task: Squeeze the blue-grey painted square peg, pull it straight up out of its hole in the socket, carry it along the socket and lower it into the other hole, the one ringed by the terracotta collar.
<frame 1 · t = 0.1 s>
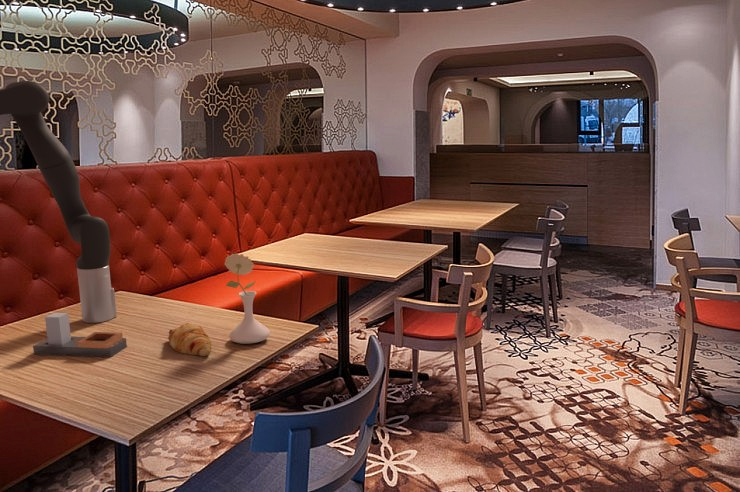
socket: (81, 350, 161), on the table
croissant: (189, 349, 161), on the table
peg: (60, 350, 161), resting in socket
flower in vase: (247, 340, 167), on the table
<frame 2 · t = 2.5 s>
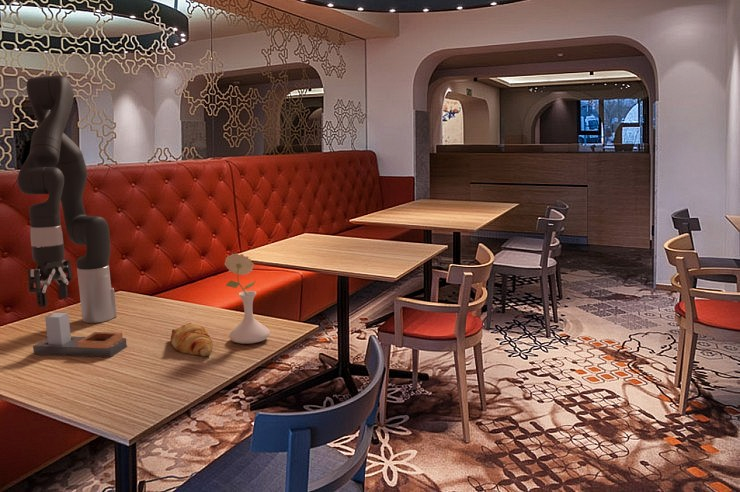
hand: (53, 302, 159), 14 cm above the table, fingers open, 8 cm apart
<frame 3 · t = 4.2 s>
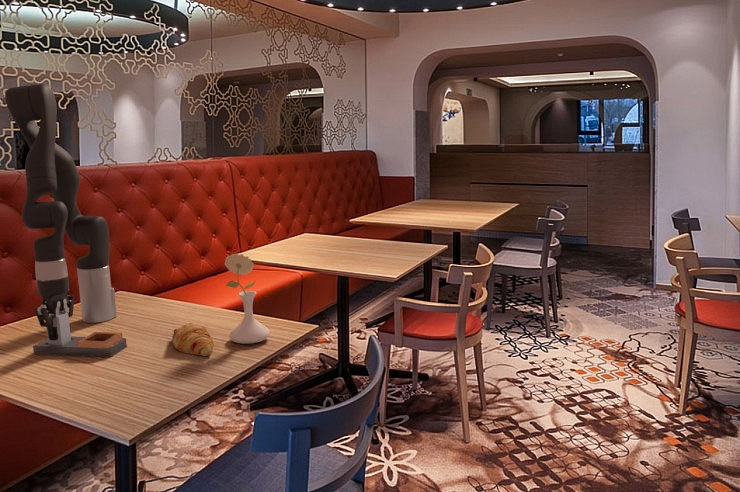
hand: (59, 336, 161), 4 cm above the table, fingers closed on peg, 4 cm apart
peg: (60, 350, 161), resting in socket, touching gripper
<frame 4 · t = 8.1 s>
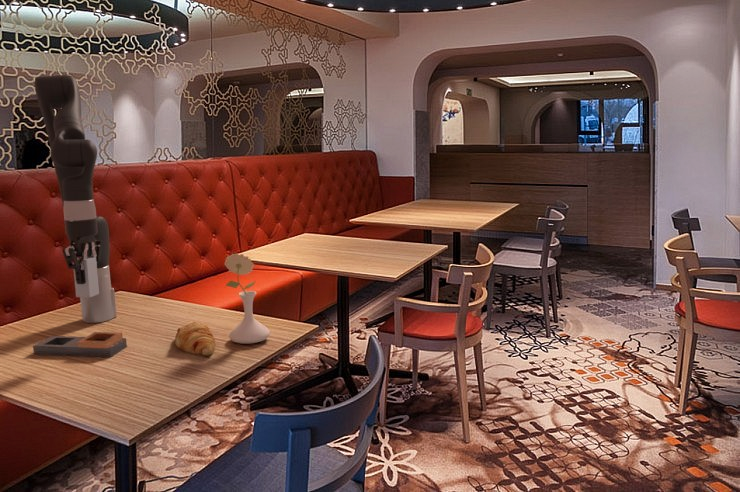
hand: (86, 281, 156), 20 cm above the table, fingers closed on peg, 4 cm apart
peg: (87, 295, 157), point 16 cm above the table, touching gripper
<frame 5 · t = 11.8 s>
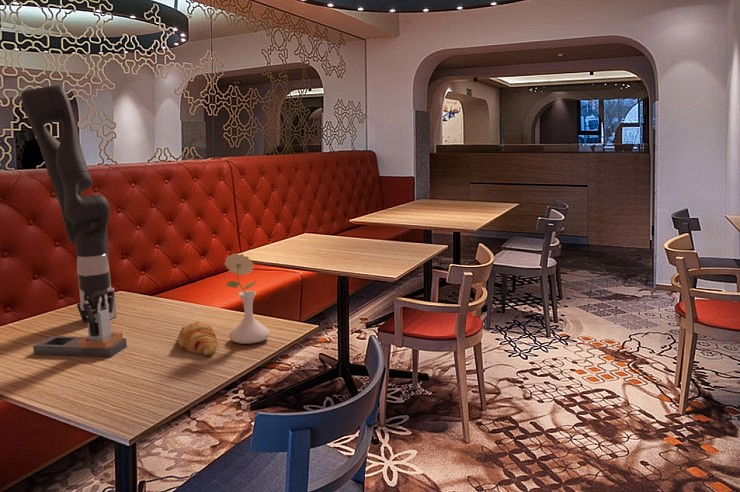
hand: (99, 332, 159), 5 cm above the table, fingers closed on peg, 3 cm apart
peg: (101, 346, 160), point 1 cm above the table, touching gripper
when the fingers open (5 cm above the table, at t = 12.0 s): peg drops 1 cm, resting in socket.
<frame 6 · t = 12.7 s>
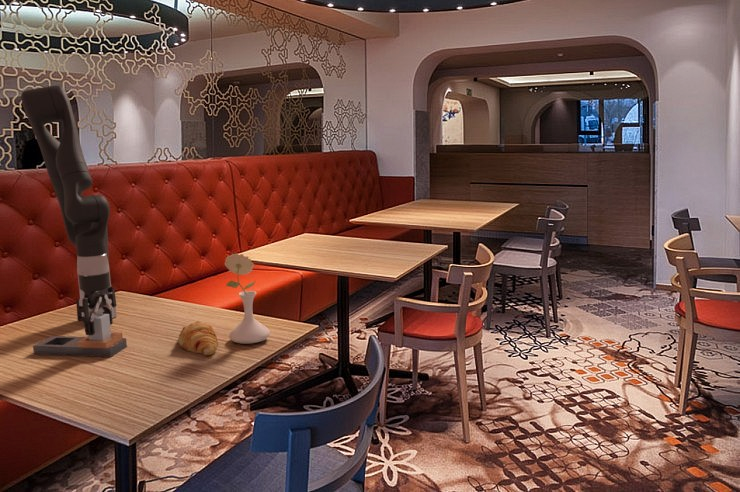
hand: (99, 329, 159), 6 cm above the table, fingers open, 8 cm apart
peg: (101, 351, 160), resting in socket
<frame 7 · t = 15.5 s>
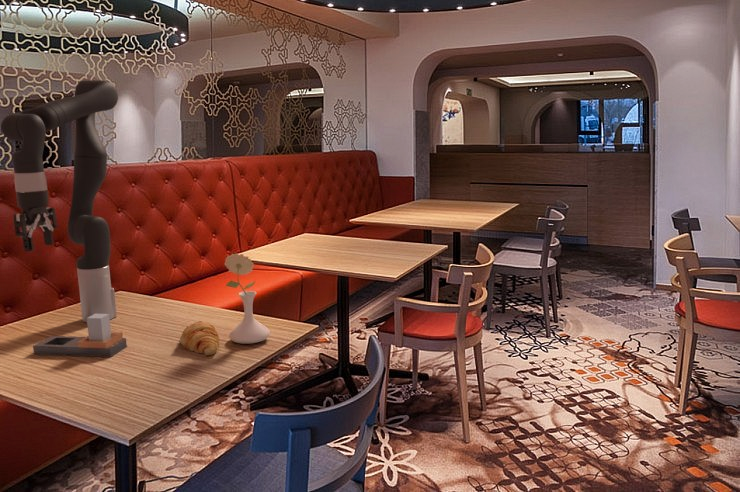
hand: (39, 247, 163), 27 cm above the table, fingers open, 8 cm apart
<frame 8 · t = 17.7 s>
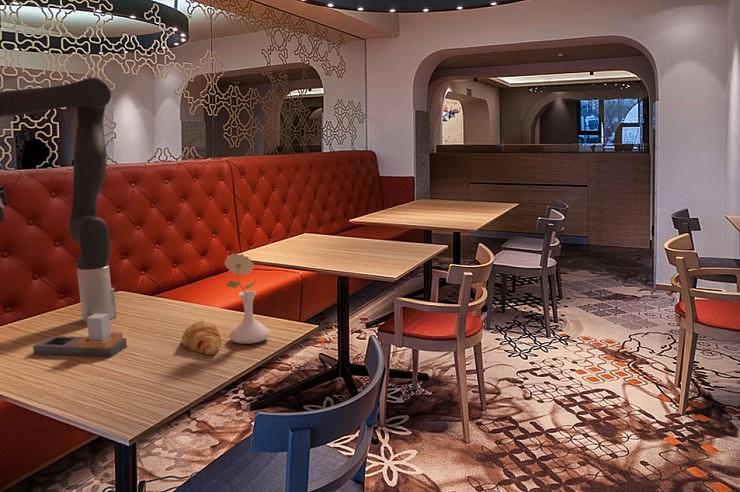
at the end: peg 0.0 cm from the target spot on the socket, point 0.0 cm above the socket's base; peg tilted 0°; the gripper is holding nothing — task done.
